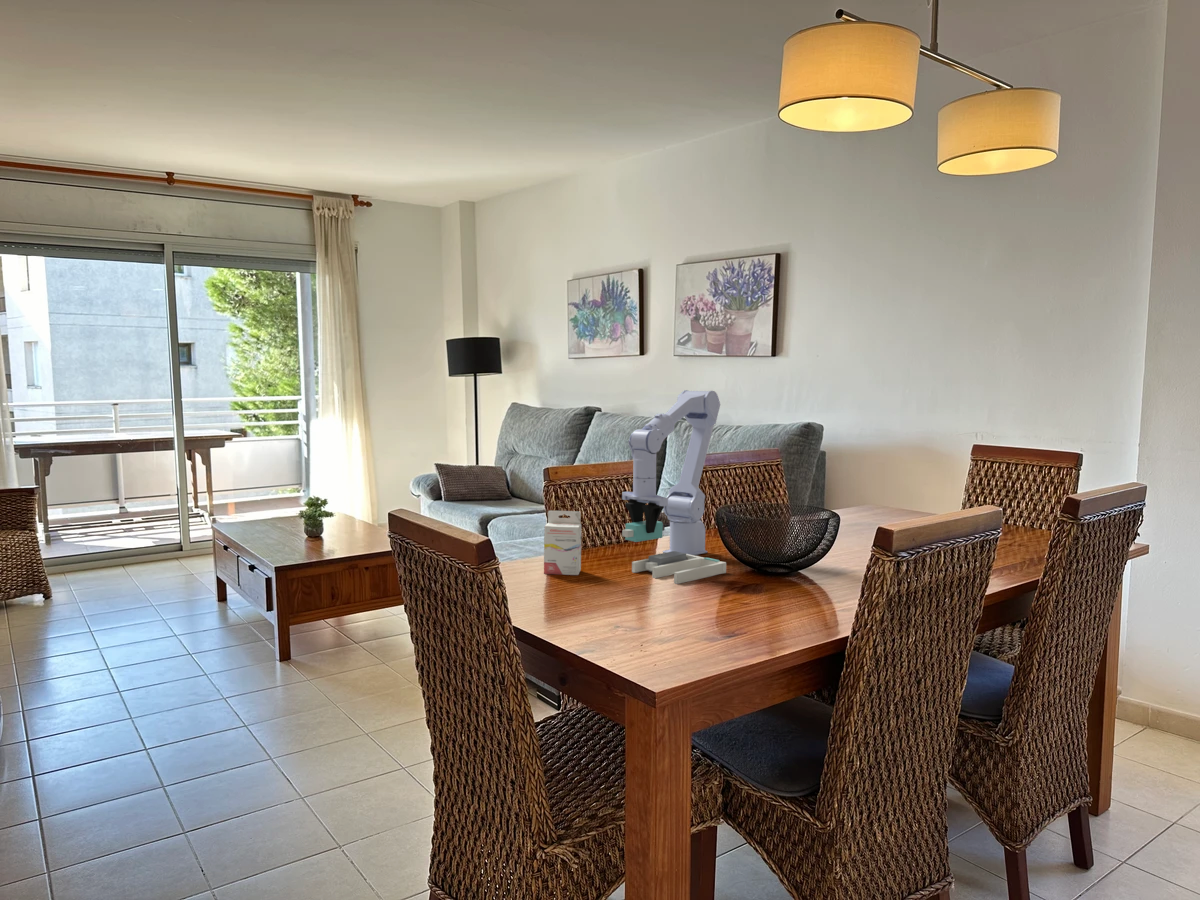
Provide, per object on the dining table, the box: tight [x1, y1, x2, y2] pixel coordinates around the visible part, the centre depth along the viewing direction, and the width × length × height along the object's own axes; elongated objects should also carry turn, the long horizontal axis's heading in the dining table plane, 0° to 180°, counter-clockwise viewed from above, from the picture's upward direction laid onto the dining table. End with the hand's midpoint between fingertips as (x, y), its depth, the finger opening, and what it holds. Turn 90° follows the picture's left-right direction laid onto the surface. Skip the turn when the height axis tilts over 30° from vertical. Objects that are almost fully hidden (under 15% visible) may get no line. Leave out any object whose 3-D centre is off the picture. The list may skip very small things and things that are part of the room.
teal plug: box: [621, 520, 665, 543], centre depth 206 cm, size 13×4×4 cm, turn 131°
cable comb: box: [631, 554, 727, 585], centre depth 199 cm, size 17×15×3 cm
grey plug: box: [646, 551, 688, 573], centre depth 201 cm, size 13×4×4 cm, turn 131°
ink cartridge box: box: [543, 510, 582, 576], centre depth 198 cm, size 9×5×15 cm, turn 84°
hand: (644, 531), depth 206 cm, fingers closed on teal plug, 4 cm apart
